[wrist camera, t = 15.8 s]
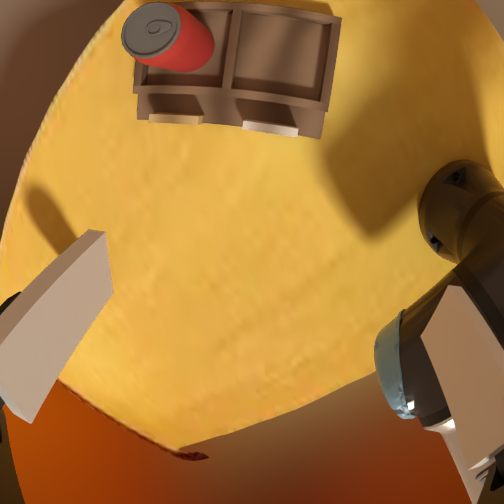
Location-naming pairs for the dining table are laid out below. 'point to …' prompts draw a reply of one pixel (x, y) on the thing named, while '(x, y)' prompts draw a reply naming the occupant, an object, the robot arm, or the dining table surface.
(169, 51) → the beer can
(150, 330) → the dining table surface
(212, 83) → the brown desk organizer
